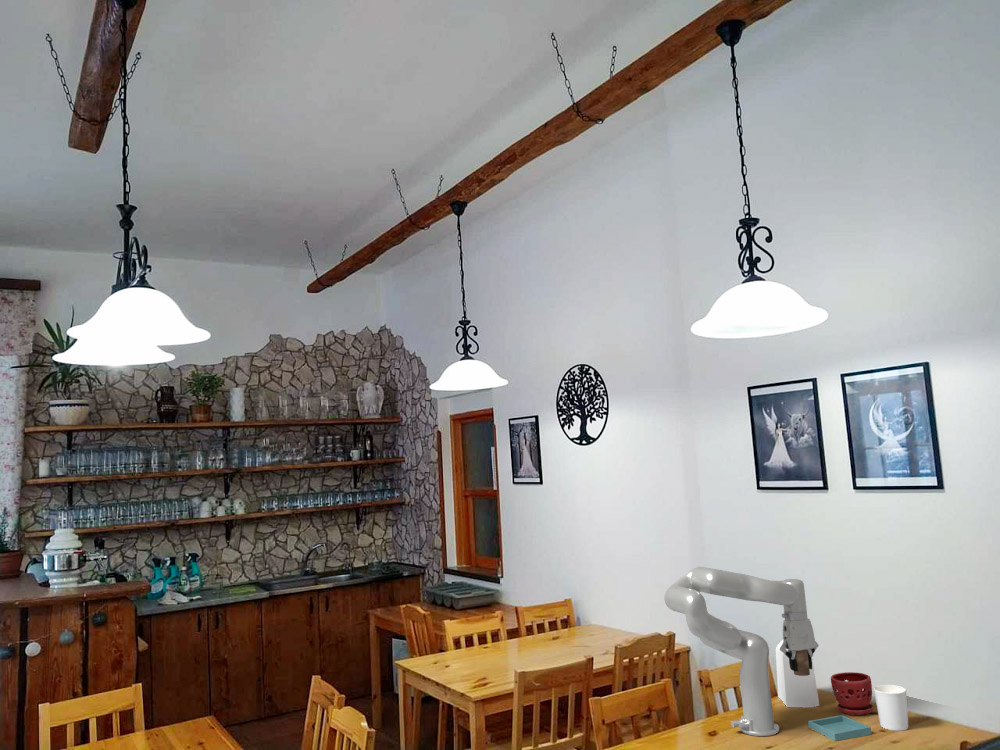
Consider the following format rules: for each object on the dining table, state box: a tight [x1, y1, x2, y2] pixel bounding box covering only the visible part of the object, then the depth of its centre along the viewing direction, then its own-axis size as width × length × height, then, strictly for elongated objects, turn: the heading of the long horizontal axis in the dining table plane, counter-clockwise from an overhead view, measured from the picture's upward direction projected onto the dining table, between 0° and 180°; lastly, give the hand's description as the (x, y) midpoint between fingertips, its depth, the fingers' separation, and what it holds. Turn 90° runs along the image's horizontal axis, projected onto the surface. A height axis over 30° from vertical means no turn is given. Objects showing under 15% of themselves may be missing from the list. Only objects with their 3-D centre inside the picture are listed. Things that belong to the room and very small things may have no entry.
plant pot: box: [830, 671, 874, 716], centre depth 274 cm, size 13×13×12 cm
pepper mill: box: [794, 650, 810, 676], centre depth 270 cm, size 5×5×10 cm
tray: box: [807, 714, 872, 742], centre depth 255 cm, size 14×14×2 cm
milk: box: [775, 639, 820, 708], centre depth 288 cm, size 12×12×26 cm
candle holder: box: [872, 684, 909, 732], centre depth 256 cm, size 10×10×12 cm
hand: (801, 668), depth 270 cm, fingers closed on pepper mill, 5 cm apart
